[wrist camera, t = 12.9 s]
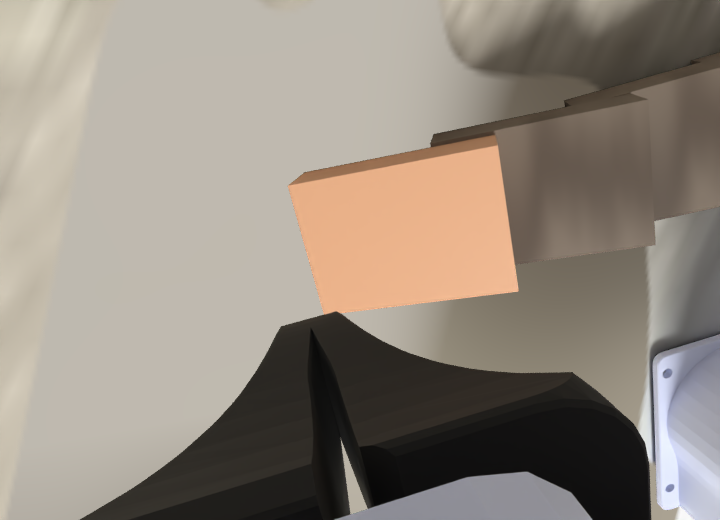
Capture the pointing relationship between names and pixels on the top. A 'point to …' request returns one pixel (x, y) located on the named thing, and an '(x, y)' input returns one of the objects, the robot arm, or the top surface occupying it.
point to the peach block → (407, 227)
